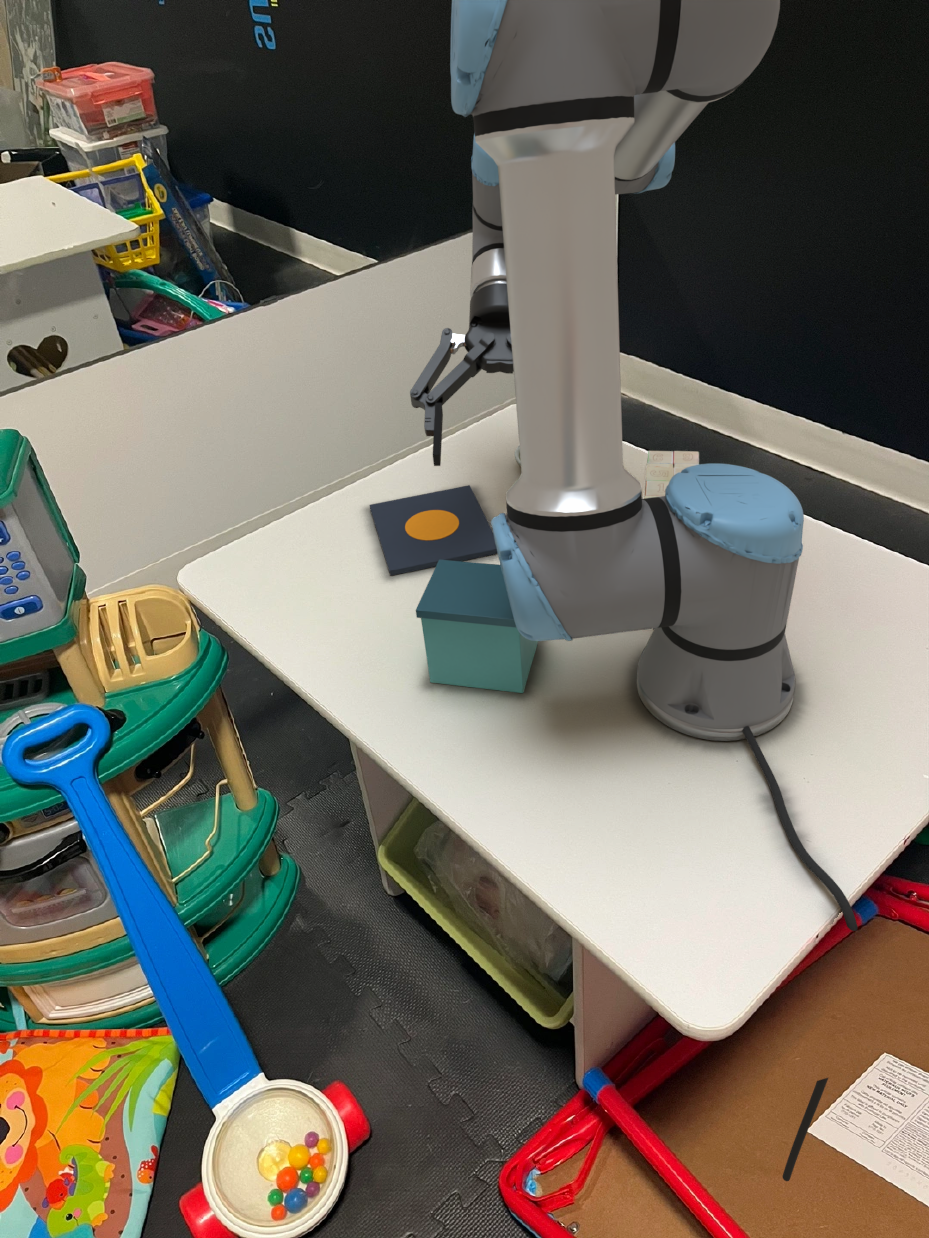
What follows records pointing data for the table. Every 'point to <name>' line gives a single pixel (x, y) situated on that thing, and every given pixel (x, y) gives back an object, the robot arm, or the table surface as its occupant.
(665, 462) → the stack of blocks
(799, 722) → the table surface
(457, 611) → the teal box
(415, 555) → the mat
